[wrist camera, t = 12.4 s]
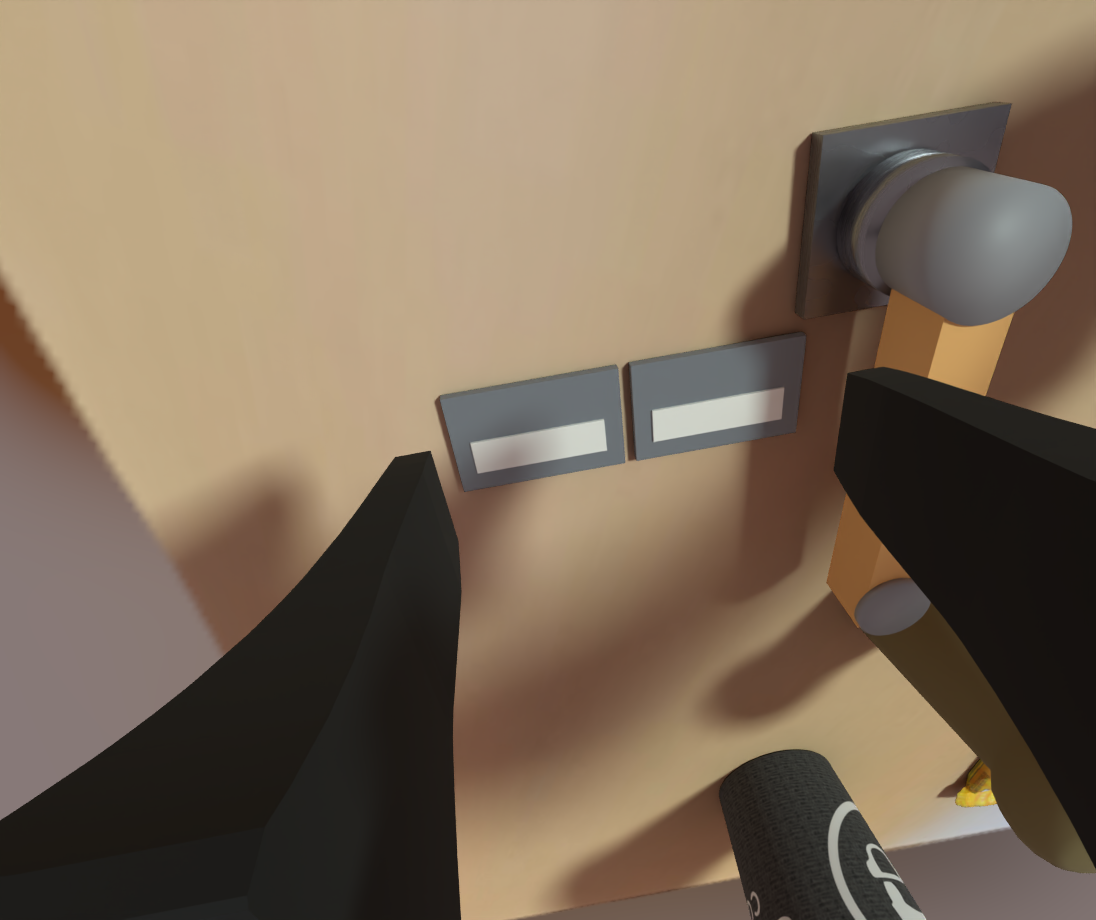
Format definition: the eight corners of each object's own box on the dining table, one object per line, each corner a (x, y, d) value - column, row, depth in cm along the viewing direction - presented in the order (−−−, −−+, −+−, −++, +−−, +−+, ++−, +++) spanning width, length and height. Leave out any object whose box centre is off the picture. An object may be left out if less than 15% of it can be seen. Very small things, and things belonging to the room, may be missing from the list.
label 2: (802, 331, 20) (807, 336, 19) (791, 427, 22) (796, 433, 21) (628, 362, 19) (631, 367, 19) (634, 456, 21) (637, 462, 21)
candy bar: (1096, 594, 30) (1131, 623, 28) (1168, 592, 30) (1205, 622, 29) (939, 785, 39) (959, 815, 37) (997, 781, 40) (1019, 810, 38)
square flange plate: (994, 102, 16) (1054, 107, 15) (951, 285, 19) (997, 307, 18) (812, 132, 16) (851, 142, 15) (794, 312, 19) (826, 337, 17)
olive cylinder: (908, 640, 29) (1111, 906, 20) (815, 610, 27) (994, 891, 18) (1009, 551, 27) (1295, 812, 18) (914, 509, 25) (1182, 781, 15)
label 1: (616, 364, 19) (618, 369, 19) (623, 457, 21) (625, 464, 21) (440, 395, 19) (439, 401, 19) (464, 486, 21) (464, 493, 21)
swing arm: (889, 174, 15) (958, 195, 13) (1015, 158, 15) (1103, 175, 13) (807, 589, 23) (841, 642, 21) (890, 575, 23) (932, 627, 21)
